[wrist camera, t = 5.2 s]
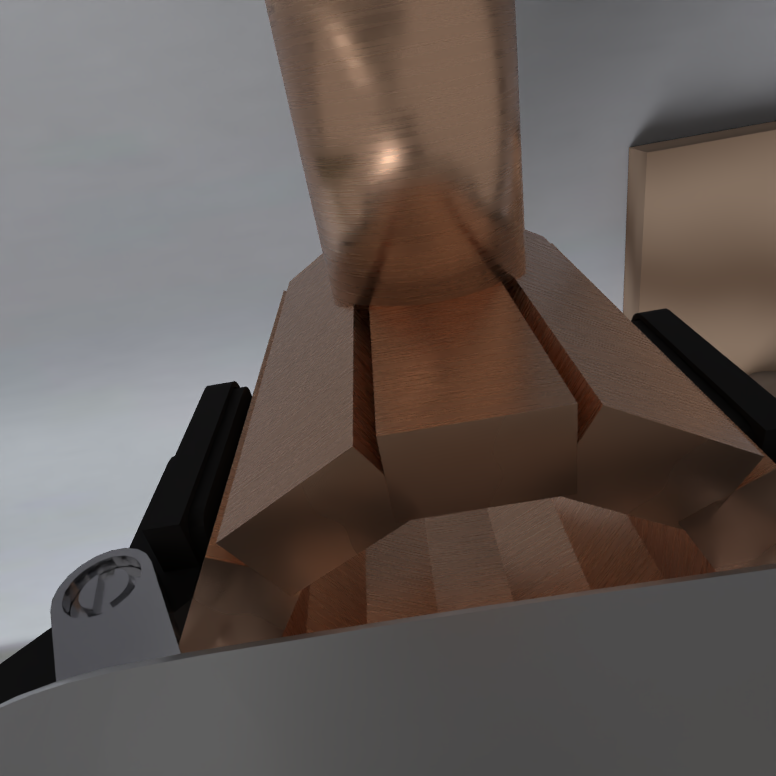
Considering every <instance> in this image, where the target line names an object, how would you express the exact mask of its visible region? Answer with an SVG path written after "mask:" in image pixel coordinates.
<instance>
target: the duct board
mask: <svg viewBox="0 0 776 776" xmlns="http://www.w3.org/2000/svg"><path fill="white" fill-rule="evenodd" d="M664 308H667V309H669V310H670V311H671V312H672V313H674V314H675V315H676V316H677V317H679V318H680V319H681V320H682V321H683V322H685V323H686V324H687V325H688V326H689V327H691V328H692V329H693V330H694V331H695V332H697V333H698V334H699V335H700V336H701V337H703V338H704V339H705V340H706V341H708V342H709V343H710V344H711V345H712V346H714V347H715V348H716V349H717V350H718V351H720V352H721V353H722V354H723V355H724V356H726V357H727V358H728V359H729V360H730V361H732V362H733V363H734V364H735V365H737V366H738V367H739V368H740V369H741V370H743V371H744V372H745V373H746V374H747V375H749V376H750V377H751V378H752V379H753V380H755V381H756V382H757V383H758V384H759V385H761V386H762V387H763V388H764V389H766V390H767V391H768V392H769V393H770V394H772V395H773V396H774V397H775V398H776V121H774V122H768V123H763V124H757V125H752V126H746V127H740V128H735V129H729V130H724V131H718V132H713V133H707V134H701V135H696V136H690V137H685V138H679V139H674V140H668V141H662V142H657V143H651V144H646V145H640V146H634V147H629V165H628V193H627V220H626V247H625V275H624V302H623V314H624V315H625V316H626V317H627V318H628V319H629V320H630V321H631V320H632V317H633V315H634V314H635V313H641V312H646V311H652V310H658V309H664Z"/></svg>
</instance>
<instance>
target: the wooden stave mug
mask: <svg viewBox="0 0 776 776" xmlns="http://www.w3.org/2000/svg"><path fill="white" fill-rule="evenodd" d="M265 3H266V8H267V12H268V16H269V21H270V25H271V29H272V34H273V38H274V43H275V47H276V51H277V56H278V60H279V64H280V69H281V73H282V77H283V82H284V86H285V90H286V95H287V99H288V103H289V108H290V112H291V117H292V121H293V125H294V130H295V134H296V138H297V143H298V147H299V151H300V156H301V160H302V164H303V169H304V173H305V177H306V182H307V186H308V191H309V195H310V199H311V204H312V208H313V212H314V217H315V221H316V225H317V230H318V234H319V238H320V243H321V247H322V251H323V254H321V255H320V256H319V257H318V258H317V259H316V260H314V261H313V262H312V263H311V264H310V265H309V266H307V267H306V268H305V269H304V270H303V271H302V272H300V273H299V274H298V275H297V276H296V277H295V278H294V279H292V280H291V281H290V282H289V286H288V289H287V291H284V292H283V295H282V299H281V302H280V305H279V309H278V312H277V315H276V319H275V322H274V325H273V329H272V332H271V336H270V339H269V342H268V346H267V349H266V352H265V356H264V359H263V362H262V366H261V369H260V372H259V376H258V379H257V383H256V386H255V389H254V393H253V396H252V399H251V403H250V406H249V410H248V413H247V416H246V420H245V423H244V426H243V430H242V433H241V437H240V440H239V443H238V447H237V450H236V453H235V457H234V460H233V464H232V467H231V470H230V474H229V477H228V480H227V484H226V487H225V491H224V494H223V497H222V501H221V504H220V507H219V511H218V514H217V518H216V521H215V524H214V528H213V531H212V534H211V538H210V541H209V545H208V548H207V551H206V555H205V558H204V561H203V565H202V568H201V572H200V575H199V578H198V582H197V585H196V588H195V592H194V595H193V599H192V602H191V605H190V609H189V612H188V615H187V619H186V622H185V626H184V629H183V632H182V636H181V639H180V642H179V648H180V650H181V651H182V653H187V652H193V651H199V650H205V649H211V648H217V647H223V646H229V645H235V644H242V643H248V642H254V641H260V640H267V639H273V638H279V637H286V636H292V635H299V634H305V633H312V632H318V631H324V630H331V629H337V628H344V627H350V626H356V625H363V624H369V623H376V622H382V621H389V620H395V619H401V618H408V617H414V616H421V615H428V614H434V613H441V612H448V611H454V610H461V609H467V608H474V607H481V606H487V605H494V604H501V603H507V602H514V601H521V600H527V599H534V598H541V597H547V596H554V595H561V594H568V593H574V592H581V591H588V590H594V589H601V588H608V587H615V586H622V585H629V584H636V583H642V582H649V581H656V580H663V579H670V578H677V577H684V576H691V575H698V574H705V573H712V572H719V571H726V570H733V569H739V568H746V567H753V566H760V565H767V564H774V563H776V464H775V463H774V462H773V461H772V460H771V459H770V458H769V457H768V456H767V455H766V454H765V453H764V452H763V451H762V450H761V449H760V448H759V447H758V446H757V445H756V444H755V443H754V442H753V441H752V440H751V439H750V438H749V437H748V436H747V435H746V434H745V433H744V432H743V431H742V430H741V429H740V428H739V427H738V426H737V425H736V424H735V423H734V422H733V421H732V420H731V419H730V418H729V417H728V416H727V415H725V414H724V413H723V412H722V411H721V410H720V409H719V408H718V407H717V406H716V405H715V404H714V403H713V402H712V401H711V400H710V399H709V398H708V397H707V396H706V395H705V394H704V393H703V392H702V391H701V390H700V389H699V388H698V387H697V386H696V385H695V384H694V383H693V382H692V381H691V380H690V379H689V378H688V377H687V376H686V375H685V374H684V373H683V372H682V371H681V370H680V369H679V368H678V367H677V366H676V365H675V364H674V363H673V362H672V361H671V360H670V359H669V358H668V357H667V356H666V355H665V354H664V353H663V352H662V351H661V350H660V349H659V348H658V347H657V346H656V345H655V344H653V343H652V342H651V341H650V340H649V339H648V338H647V337H646V336H645V335H644V334H643V333H642V332H641V331H640V330H639V329H638V328H637V327H636V326H635V325H634V324H633V323H632V322H631V321H630V320H629V319H628V318H627V317H626V316H625V315H624V314H623V313H622V312H621V311H620V310H619V309H618V308H617V307H616V306H615V305H614V304H613V303H612V302H611V301H610V300H609V299H608V298H607V297H606V296H605V295H604V294H603V293H602V292H601V291H600V290H599V289H598V288H597V287H596V286H595V285H594V284H593V283H592V282H591V281H590V280H589V279H588V278H587V277H586V276H585V275H584V274H583V273H582V272H580V271H579V270H578V269H577V268H576V267H575V266H574V265H573V264H572V263H571V262H570V261H569V260H568V259H567V258H566V257H565V256H564V255H563V254H562V253H561V252H560V251H559V250H558V249H557V248H556V247H555V246H554V245H553V244H552V243H551V244H550V243H549V242H548V241H547V240H546V239H545V238H544V237H543V236H540V235H538V234H535V233H532V232H530V231H527V230H525V229H524V206H523V182H522V158H521V134H520V110H519V87H518V63H517V39H516V15H515V0H265Z"/></svg>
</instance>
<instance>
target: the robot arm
mask: <svg viewBox="0 0 776 776" xmlns="http://www.w3.org/2000/svg"><path fill="white" fill-rule="evenodd" d="M631 322H632V323H633V324H634V325H635V326H636V327H637V328H638V329H639V330H640V331H641V332H642V333H643V334H644V335H645V336H646V337H647V338H648V339H649V340H650V341H651V342H652V343H653V344H655V345H656V346H657V347H658V348H659V349H660V350H661V351H662V352H663V353H664V354H665V355H666V356H667V357H668V358H669V359H670V360H671V361H672V362H673V363H674V364H675V365H676V366H677V367H678V368H679V369H680V370H681V371H682V372H683V373H684V374H685V375H686V376H687V377H688V378H689V379H690V380H691V381H692V382H693V383H694V384H695V385H696V386H697V387H698V388H699V389H700V390H701V391H702V392H703V393H704V394H705V395H706V396H707V397H708V398H709V399H710V400H711V401H712V402H713V403H714V404H715V405H716V406H717V407H718V408H719V409H720V410H721V411H722V412H723V413H724V414H725V415H727V416H728V417H729V418H730V419H731V420H732V421H733V422H734V423H735V424H736V425H737V426H738V427H739V428H740V429H741V430H742V431H743V432H744V433H745V434H746V435H747V436H748V437H749V438H750V439H751V440H752V441H753V442H754V443H755V444H756V445H757V446H758V447H759V448H760V449H761V450H762V451H763V452H764V453H765V454H766V455H767V456H768V457H769V458H770V459H771V460H772V461H773V462H774V463H775V464H776V398H775V397H774V396H773V395H772V394H770V393H769V392H768V391H767V390H766V389H764V388H763V387H762V386H761V385H759V384H758V383H757V382H756V381H755V380H753V379H752V378H751V377H750V376H749V375H747V374H746V373H745V372H744V371H743V370H741V369H740V368H739V367H738V366H737V365H735V364H734V363H733V362H732V361H730V360H729V359H728V358H727V357H726V356H724V355H723V354H722V353H721V352H720V351H718V350H717V349H716V348H715V347H714V346H712V345H711V344H710V343H709V342H708V341H706V340H705V339H704V338H703V337H701V336H700V335H699V334H698V333H697V332H695V331H694V330H693V329H692V328H691V327H689V326H688V325H687V324H686V323H685V322H683V321H682V320H681V319H680V318H679V317H677V316H676V315H675V314H674V313H672V312H671V311H670V310H669V309H667V308H664V309H658V310H652V311H646V312H641V313H635V314H634V315H633V317H632V320H631ZM251 399H252V395H251V393H250V390H249V389H248V387H241V388H240V386H239V385H238V383H237V382H235V381H234V382H228V383H222V384H216V385H211V386H207V387H206V388H205V390H204V392H203V394H202V396H201V399H200V401H199V403H198V405H197V408H196V410H195V412H194V414H193V417H192V419H191V421H190V423H189V426H188V428H187V430H186V432H185V435H184V437H183V439H182V441H181V444H180V446H179V448H178V450H177V452H176V455H175V456H174V457H172V458H171V459H170V461H169V462H168V464H167V466H166V469H165V471H164V473H163V475H162V477H161V480H160V482H159V484H158V486H157V488H156V491H155V493H154V495H153V497H152V499H151V502H150V504H149V506H148V508H147V510H146V513H145V515H144V517H143V519H142V521H141V523H140V526H139V528H138V530H137V532H136V534H135V537H134V539H133V541H132V543H131V545H130V548H122V549H117V550H111V551H109V552H106V553H103V554H101V555H98V556H96V557H94V558H93V559H91V560H89V561H87V562H86V563H84V564H82V565H81V566H80V567H79V568H77V569H76V570H75V571H74V572H72V573H71V574H70V575H69V576H68V577H67V578H66V579H65V581H64V582H63V583H62V584H61V585H60V586H59V588H58V590H57V591H56V593H55V595H54V597H53V599H52V604H51V611H50V612H51V625H52V627H51V628H50V629H49V630H47V631H46V632H44V633H43V634H42V635H40V636H39V637H37V638H36V639H35V640H33V641H32V642H30V643H29V644H28V645H26V646H25V647H23V648H22V649H21V650H19V651H18V652H16V653H15V654H14V655H12V656H11V657H9V658H8V659H7V660H5V661H4V662H2V663H1V664H0V776H776V563H774V564H767V565H760V566H753V567H746V568H739V569H733V570H726V571H719V572H712V573H705V574H698V575H691V576H684V577H677V578H670V579H663V580H656V581H649V582H642V583H636V584H629V585H622V586H615V587H608V588H601V589H594V590H588V591H581V592H574V593H568V594H561V595H554V596H547V597H541V598H534V599H527V600H521V601H514V602H507V603H501V604H494V605H487V606H481V607H474V608H467V609H461V610H454V611H448V612H441V613H434V614H428V615H421V616H414V617H408V618H401V619H395V620H389V621H382V622H376V623H369V624H363V625H356V626H350V627H344V628H337V629H331V630H324V631H318V632H312V633H305V634H299V635H292V636H286V637H279V638H273V639H267V640H260V641H254V642H248V643H242V644H235V645H229V646H223V647H217V648H211V649H205V650H199V651H193V652H187V653H182V651H181V650H180V648H179V642H180V639H181V636H182V632H183V629H184V626H185V622H186V619H187V615H188V612H189V609H190V605H191V602H192V599H193V595H194V592H195V588H196V585H197V582H198V578H199V575H200V572H201V568H202V565H203V561H204V558H205V555H206V551H207V548H208V545H209V541H210V538H211V534H212V531H213V528H214V524H215V521H216V518H217V514H218V511H219V507H220V504H221V501H222V497H223V494H224V491H225V487H226V484H227V480H228V477H229V474H230V470H231V467H232V464H233V460H234V457H235V453H236V450H237V447H238V443H239V440H240V437H241V433H242V430H243V426H244V423H245V420H246V416H247V413H248V410H249V406H250V403H251Z"/></svg>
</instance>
